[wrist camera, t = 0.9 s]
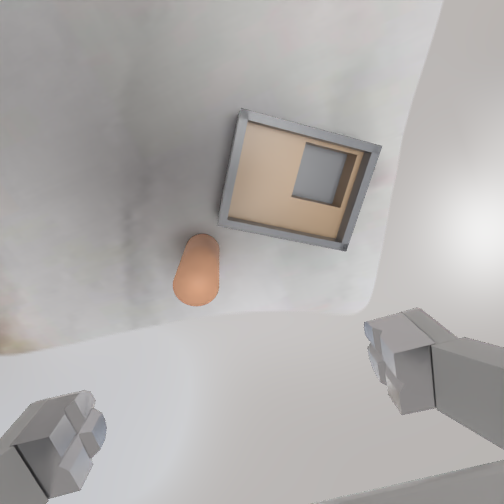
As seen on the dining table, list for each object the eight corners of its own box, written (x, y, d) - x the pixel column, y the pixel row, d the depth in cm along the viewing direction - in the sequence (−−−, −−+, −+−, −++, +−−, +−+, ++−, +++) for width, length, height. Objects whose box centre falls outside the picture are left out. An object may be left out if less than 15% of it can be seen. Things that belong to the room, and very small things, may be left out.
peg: (183, 262, 36) (169, 302, 26) (188, 231, 35) (176, 261, 25) (215, 268, 37) (214, 309, 27) (222, 237, 35) (222, 269, 26)
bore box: (217, 215, 34) (217, 225, 30) (238, 114, 31) (241, 108, 27) (329, 238, 37) (346, 251, 32) (359, 146, 34) (382, 145, 29)
